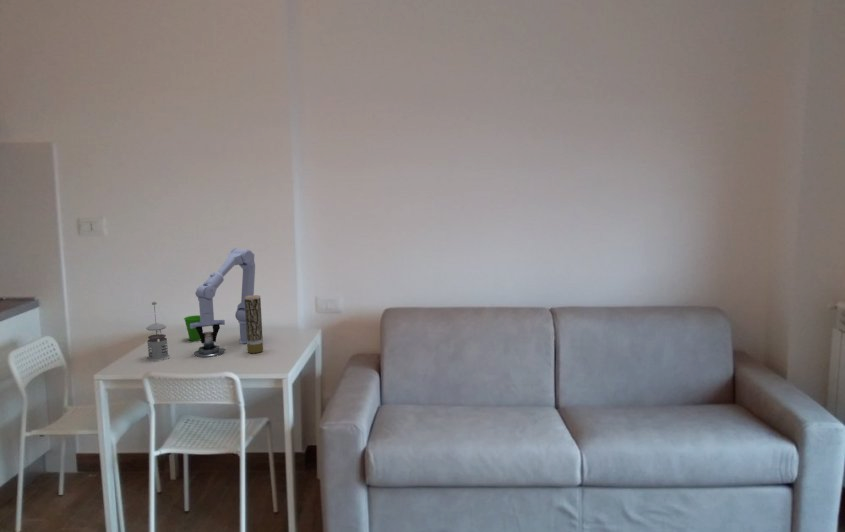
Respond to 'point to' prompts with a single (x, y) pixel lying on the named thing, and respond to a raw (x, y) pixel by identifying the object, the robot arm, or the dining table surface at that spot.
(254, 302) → the paper tube
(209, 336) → the silver metal canister
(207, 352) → the flange ring
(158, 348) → the french press
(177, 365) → the dining table surface
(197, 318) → the cup
